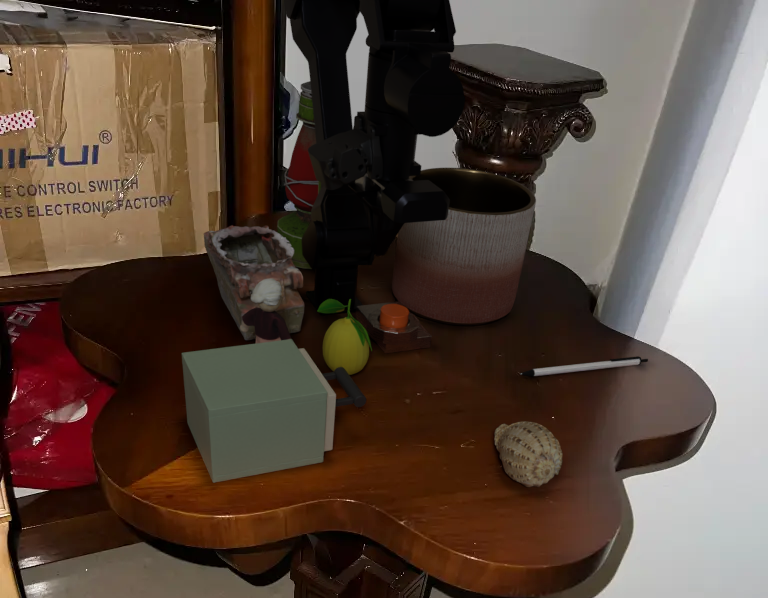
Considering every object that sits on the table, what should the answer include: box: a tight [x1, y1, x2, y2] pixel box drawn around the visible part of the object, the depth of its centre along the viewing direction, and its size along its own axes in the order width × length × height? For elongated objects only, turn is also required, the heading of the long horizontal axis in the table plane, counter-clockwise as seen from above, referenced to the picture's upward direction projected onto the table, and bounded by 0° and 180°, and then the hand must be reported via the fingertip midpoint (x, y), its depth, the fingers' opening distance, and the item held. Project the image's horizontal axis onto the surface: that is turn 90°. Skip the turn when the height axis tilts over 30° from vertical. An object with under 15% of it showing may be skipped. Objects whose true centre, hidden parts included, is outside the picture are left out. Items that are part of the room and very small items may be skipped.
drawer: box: [298, 347, 367, 452], centre depth 80 cm, size 15×9×7 cm, turn 114°
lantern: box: [276, 80, 321, 270], centre depth 109 cm, size 14×11×30 cm
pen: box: [520, 355, 649, 377], centre depth 99 cm, size 1×19×1 cm, turn 110°
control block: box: [354, 300, 433, 354], centre depth 101 cm, size 11×8×4 cm
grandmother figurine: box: [239, 278, 292, 344], centre depth 86 cm, size 8×4×13 cm, turn 65°
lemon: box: [316, 299, 373, 376], centre depth 90 cm, size 7×6×10 cm
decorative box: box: [203, 224, 305, 341], centre depth 100 cm, size 13×20×10 cm, turn 17°
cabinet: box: [181, 338, 327, 484], centre depth 79 cm, size 12×11×9 cm
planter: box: [391, 167, 537, 326], centre depth 106 cm, size 18×18×16 cm
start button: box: [380, 304, 410, 328], centre depth 97 cm, size 4×4×2 cm
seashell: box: [494, 421, 563, 488], centre depth 82 cm, size 8×6×10 cm
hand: (378, 254), depth 89 cm, fingers closed
